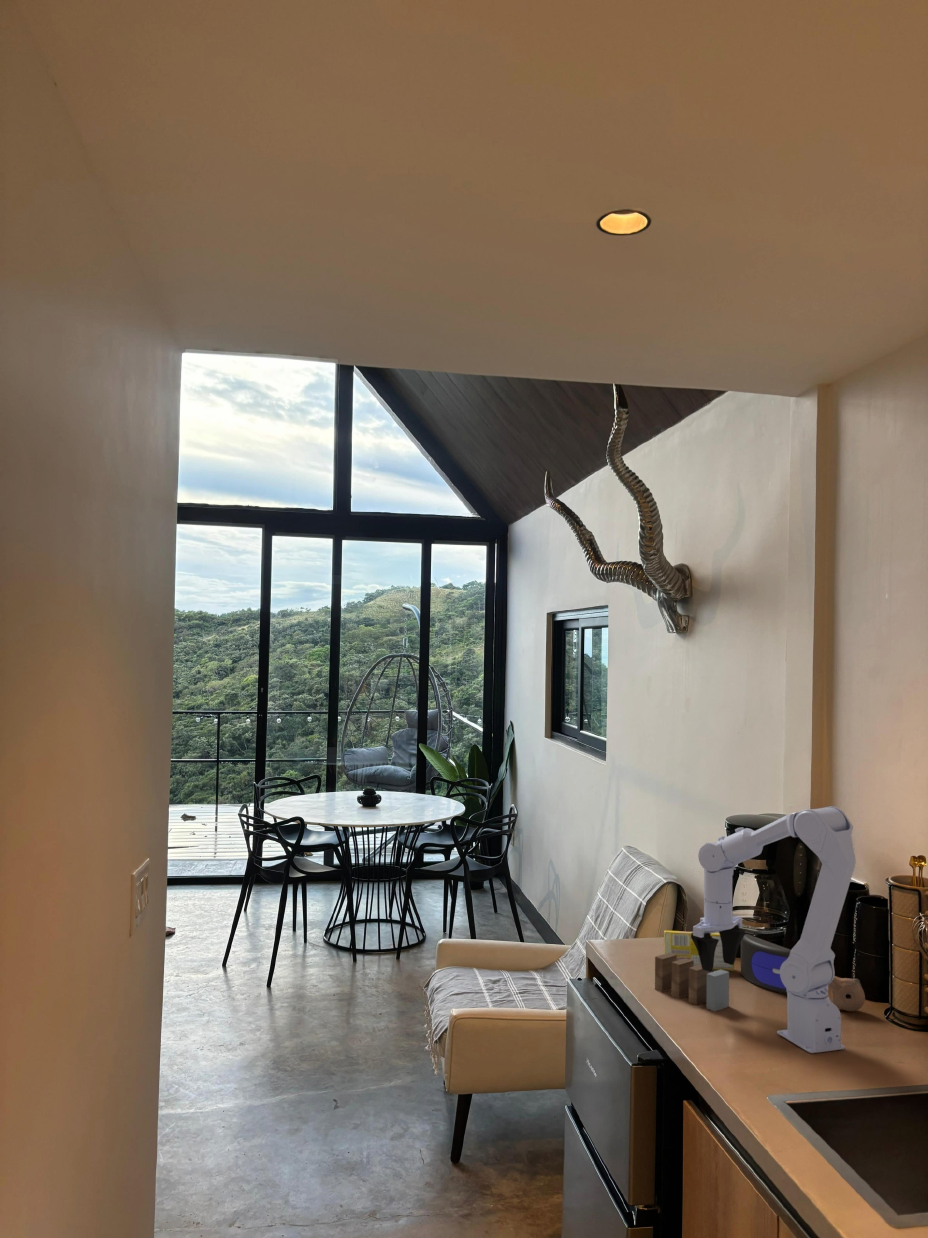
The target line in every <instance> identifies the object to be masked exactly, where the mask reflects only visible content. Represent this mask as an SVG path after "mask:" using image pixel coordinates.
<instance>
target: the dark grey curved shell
mask: <svg viewBox="0 0 928 1238" xmlns="http://www.w3.org/2000/svg"><path fill="white" fill-rule="evenodd" d="M791 950H792V949H790V948H788V947H784V946H782V945H778V944H776V943H774V942H773V943H772V942H770V941H767V940H764V939H762V938H760V937H756V936H754V935H751V934H747V933H745V935H744V937H743V939H742V940H741V942H740V973H741V975H742V976H743V978H744V979H745V980H747V981H748V982H750V983H752V984H754V985H755V986H758V987H760V988H763V989H766V990H768V991H772V992H775V993H779V994H783V995H787V992H786V987H785V986H784V984H783V983H782V980H781V977H780V967H781V965H782V963H783V962H784V961H785V960H787V959H788V957H789V955H790V951H791Z"/></svg>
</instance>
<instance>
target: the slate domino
mask: <svg viewBox="0 0 928 1238" xmlns="http://www.w3.org/2000/svg"><path fill="white" fill-rule="evenodd" d="M728 1006H729V1007H730V971H728V970H714V971H711V973H708V974H707V1001H706V1009H707V1010H709V1009H710V1011H713V1012H717V1010H718V1011H720V1010H722V1008H723V1009H726V1008H728ZM725 1007H726V1008H725Z"/></svg>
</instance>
